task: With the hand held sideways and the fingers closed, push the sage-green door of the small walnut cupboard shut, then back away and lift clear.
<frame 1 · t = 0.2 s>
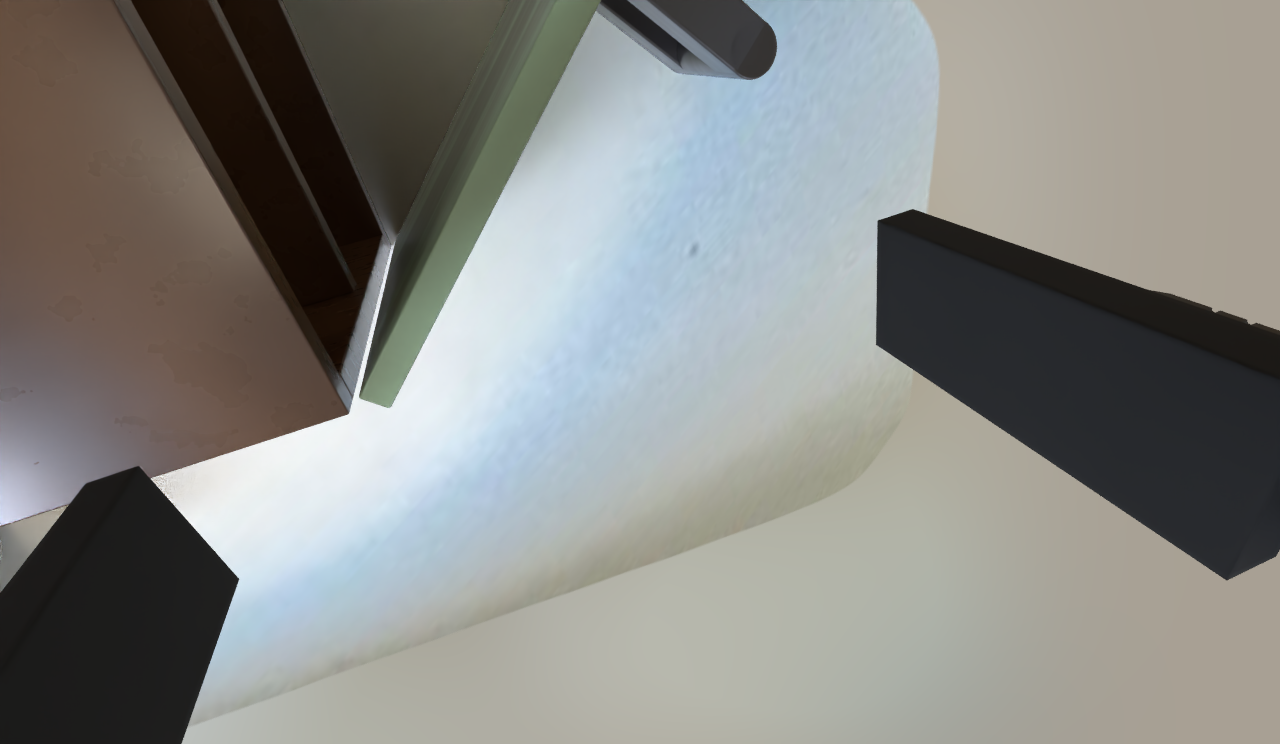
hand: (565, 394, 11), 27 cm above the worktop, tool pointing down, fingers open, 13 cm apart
cupboard: (198, 118, 29), on the worktop
door: (535, 160, 26), point 9 cm above the worktop, hinge at 45.0°
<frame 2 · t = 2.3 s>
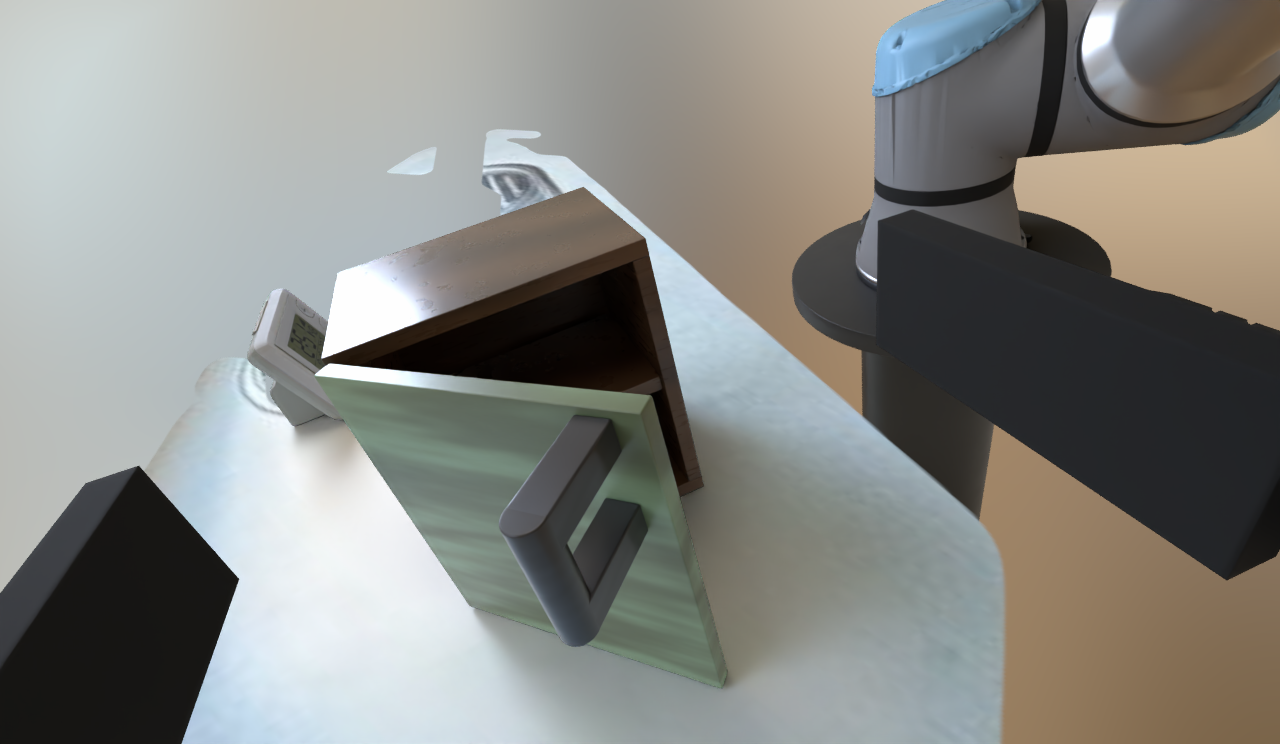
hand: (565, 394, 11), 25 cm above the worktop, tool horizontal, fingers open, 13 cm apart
cupboard: (570, 481, 45), on the worktop
door: (503, 578, 27), point 10 cm above the worktop, hinge at 45.0°
digital clock: (336, 392, 65), on the worktop
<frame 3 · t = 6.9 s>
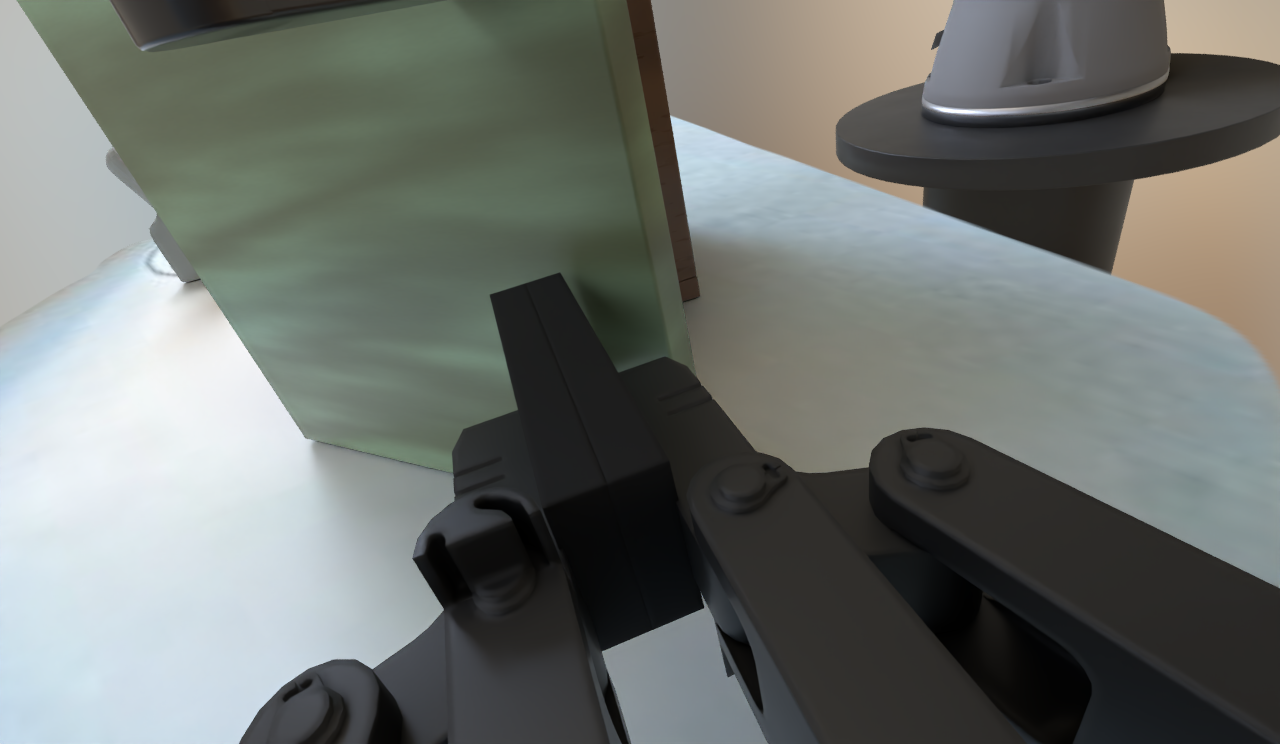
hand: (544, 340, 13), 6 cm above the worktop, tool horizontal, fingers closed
cupboard: (505, 305, 31), on the worktop
door: (242, 228, 13), point 9 cm above the worktop, hinge at 44.2°, touching gripper
digital clock: (250, 254, 52), on the worktop
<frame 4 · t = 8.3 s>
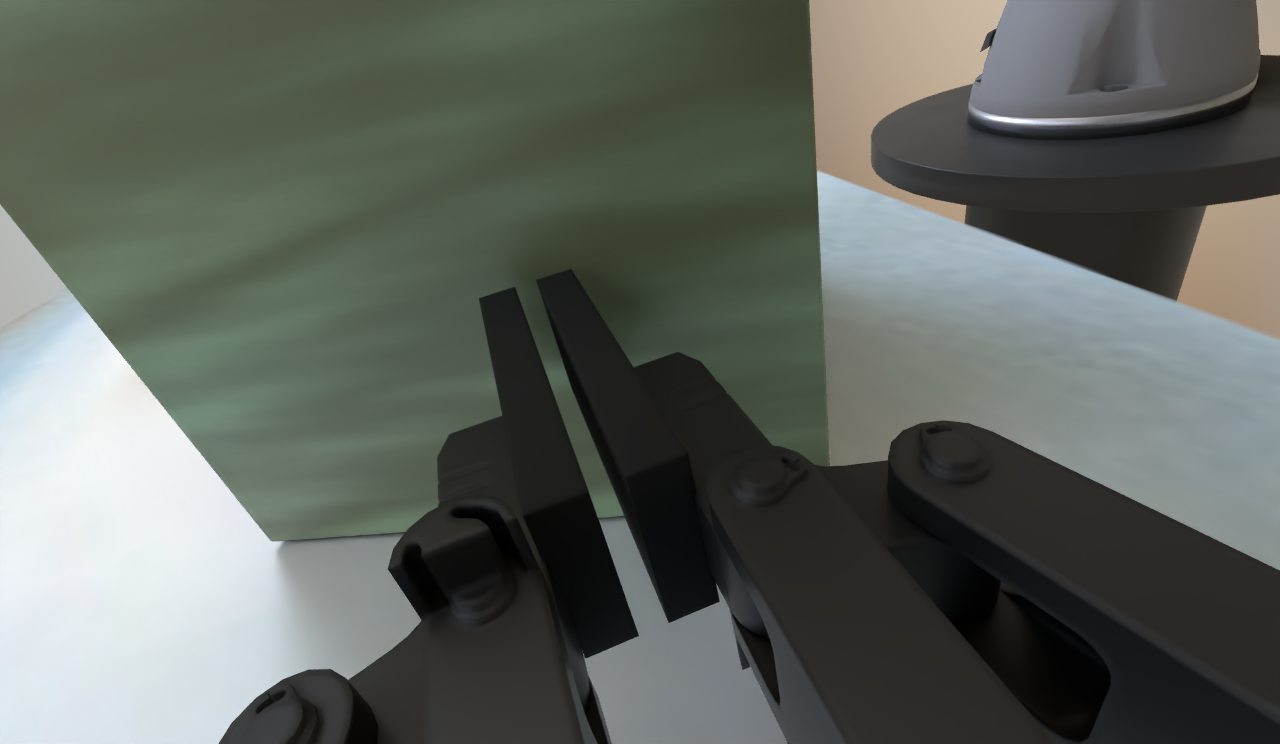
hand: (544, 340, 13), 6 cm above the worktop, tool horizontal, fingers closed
door: (324, 249, 10), point 9 cm above the worktop, hinge at 23.4°, touching gripper
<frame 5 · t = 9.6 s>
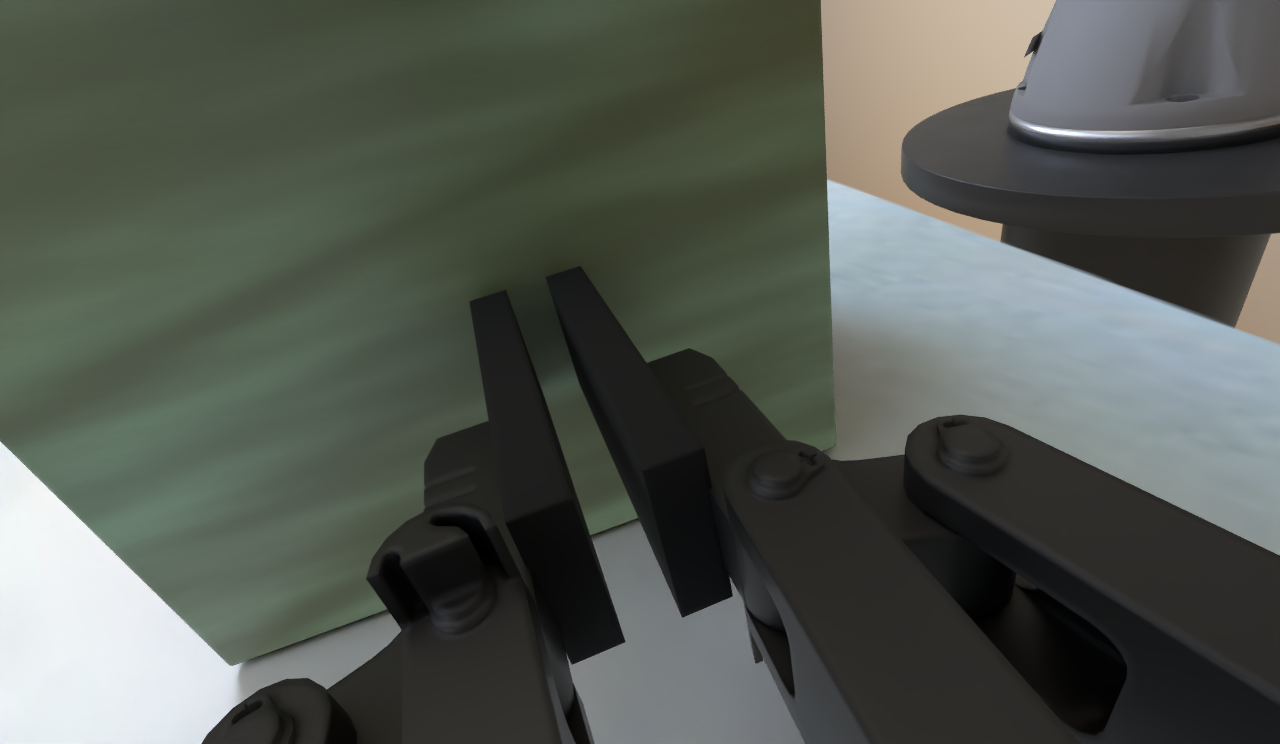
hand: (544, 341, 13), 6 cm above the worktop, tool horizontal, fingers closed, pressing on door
door: (405, 251, 9), point 10 cm above the worktop, hinge at 2.3°, touching gripper
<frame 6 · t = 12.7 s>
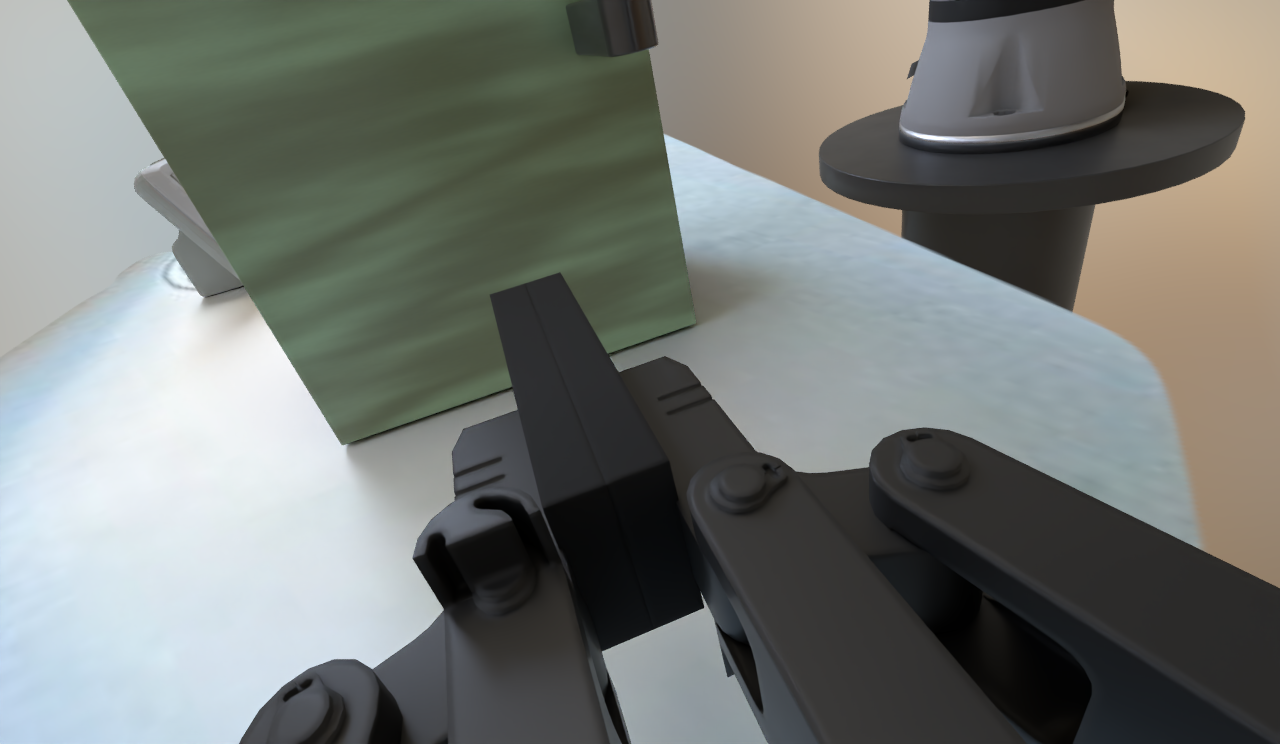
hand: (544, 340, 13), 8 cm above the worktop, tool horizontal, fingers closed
door: (456, 191, 21), point 9 cm above the worktop, hinge at -0.2°
digital clock: (264, 269, 55), on the worktop
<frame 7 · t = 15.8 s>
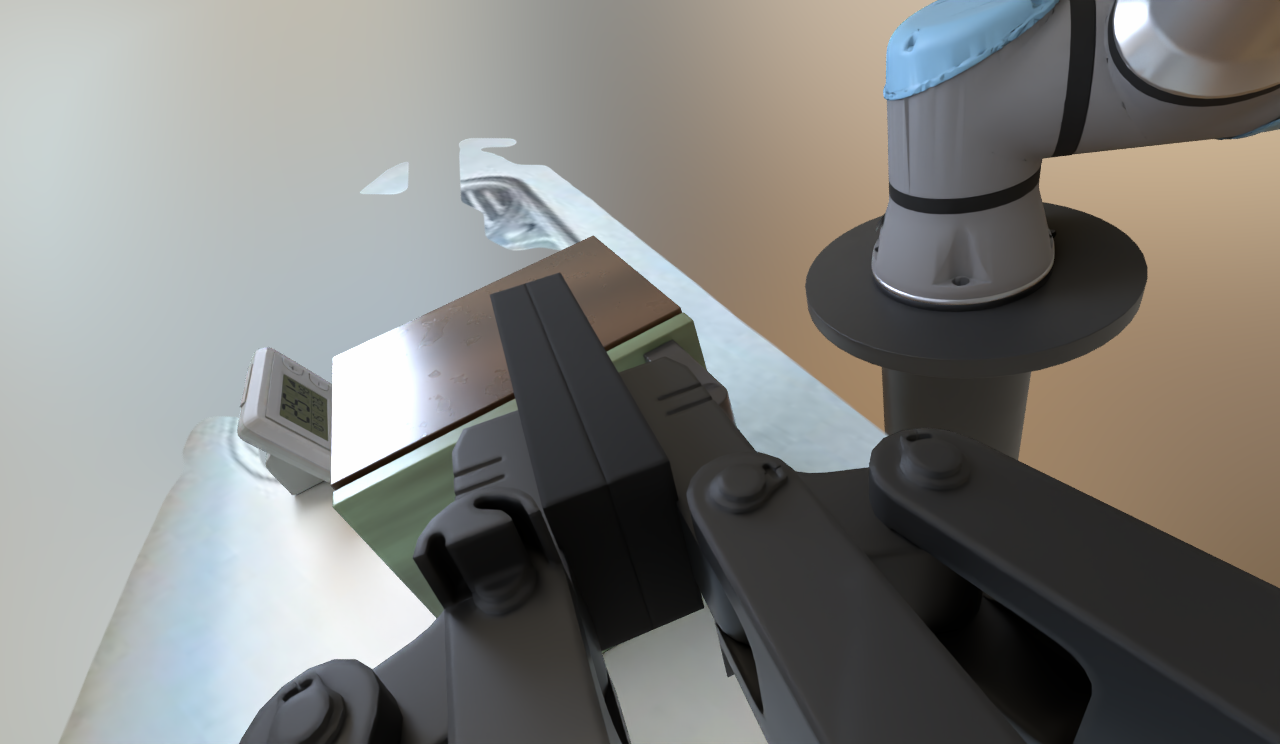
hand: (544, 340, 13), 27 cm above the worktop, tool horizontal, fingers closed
cupboard: (602, 547, 42), on the worktop
door: (609, 567, 29), point 9 cm above the worktop, hinge at -0.2°
digital clock: (335, 451, 61), on the worktop
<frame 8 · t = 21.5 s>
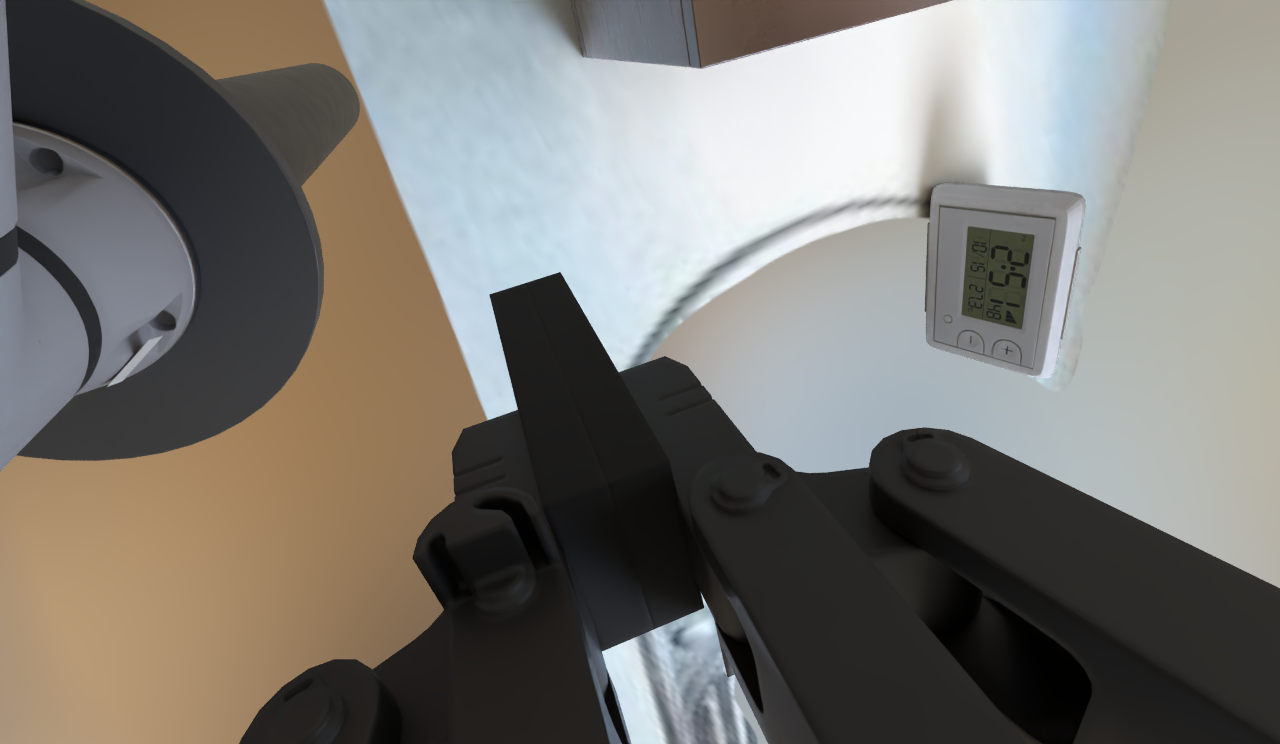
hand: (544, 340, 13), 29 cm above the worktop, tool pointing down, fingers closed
digital clock: (944, 260, 54), on the worktop
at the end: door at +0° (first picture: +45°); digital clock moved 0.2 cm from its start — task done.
